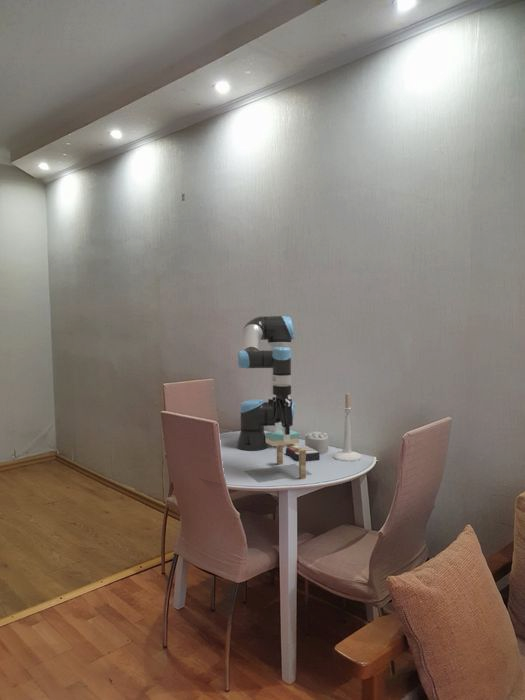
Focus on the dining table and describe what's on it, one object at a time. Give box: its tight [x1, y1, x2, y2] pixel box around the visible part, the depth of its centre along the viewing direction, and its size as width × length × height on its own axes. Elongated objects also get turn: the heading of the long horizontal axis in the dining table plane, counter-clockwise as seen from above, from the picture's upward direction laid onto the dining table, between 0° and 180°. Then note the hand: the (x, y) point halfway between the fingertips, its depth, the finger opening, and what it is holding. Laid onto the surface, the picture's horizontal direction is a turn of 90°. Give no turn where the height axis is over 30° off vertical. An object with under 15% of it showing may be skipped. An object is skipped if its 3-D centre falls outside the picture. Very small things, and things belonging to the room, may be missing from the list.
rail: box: [276, 444, 307, 480], centre depth 219 cm, size 23×2×12 cm, turn 24°
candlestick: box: [332, 392, 363, 462], centre depth 239 cm, size 13×13×30 cm
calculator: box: [285, 445, 321, 462], centre depth 242 cm, size 11×4×15 cm
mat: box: [243, 463, 313, 483], centre depth 217 cm, size 16×24×1 cm, turn 114°
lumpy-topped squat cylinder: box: [304, 430, 329, 455], centre depth 252 cm, size 10×13×9 cm
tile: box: [265, 429, 300, 447], centre depth 217 cm, size 7×12×4 cm, turn 114°
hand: (282, 439), depth 217 cm, fingers closed on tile, 7 cm apart
